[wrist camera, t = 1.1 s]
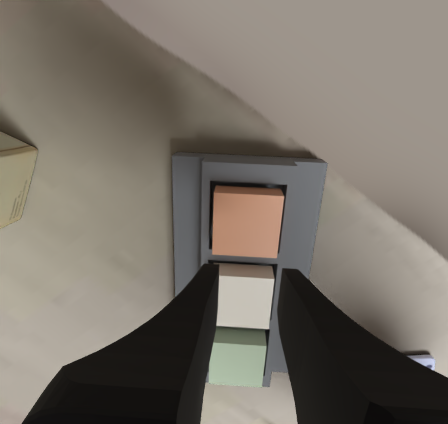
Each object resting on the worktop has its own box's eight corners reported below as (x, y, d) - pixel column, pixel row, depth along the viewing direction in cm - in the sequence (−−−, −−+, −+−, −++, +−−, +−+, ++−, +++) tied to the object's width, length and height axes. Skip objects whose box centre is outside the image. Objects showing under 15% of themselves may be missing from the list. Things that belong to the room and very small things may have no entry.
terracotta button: (274, 246, 19) (276, 258, 18) (214, 242, 20) (212, 254, 18) (280, 188, 18) (284, 196, 16) (215, 185, 18) (213, 192, 17)
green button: (260, 369, 23) (261, 387, 22) (210, 365, 23) (208, 383, 22) (264, 329, 22) (266, 346, 20) (211, 326, 22) (209, 342, 20)
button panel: (290, 358, 26) (296, 389, 23) (180, 350, 26) (173, 379, 24) (321, 159, 20) (335, 168, 17) (176, 152, 20) (166, 159, 17)
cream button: (266, 313, 21) (268, 329, 20) (212, 309, 21) (210, 325, 20) (271, 265, 20) (274, 279, 18) (213, 262, 20) (211, 275, 19)
